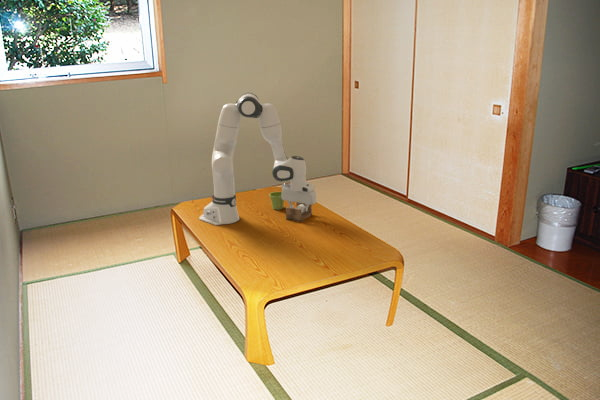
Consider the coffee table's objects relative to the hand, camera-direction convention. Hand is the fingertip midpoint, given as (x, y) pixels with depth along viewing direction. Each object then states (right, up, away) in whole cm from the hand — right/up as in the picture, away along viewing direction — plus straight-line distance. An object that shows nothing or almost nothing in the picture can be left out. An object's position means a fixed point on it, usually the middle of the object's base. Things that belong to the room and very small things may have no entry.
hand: (298, 209), depth 291 cm
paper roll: (0, -3, +1) cm, 3 cm away
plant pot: (-12, 0, +16) cm, 20 cm away
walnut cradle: (0, -4, +1) cm, 4 cm away
